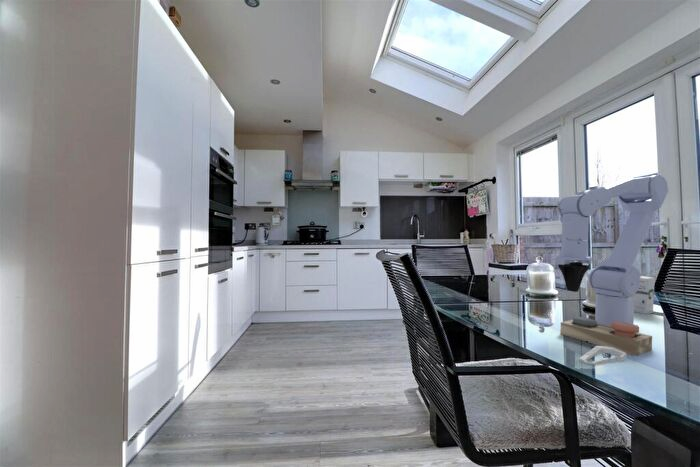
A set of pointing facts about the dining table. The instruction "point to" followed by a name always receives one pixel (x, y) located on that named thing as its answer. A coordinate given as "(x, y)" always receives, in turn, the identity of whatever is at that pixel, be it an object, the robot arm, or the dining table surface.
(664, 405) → the dining table surface
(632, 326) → the brick plug
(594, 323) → the grey plug
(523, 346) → the dining table surface
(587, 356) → the stepped key frame
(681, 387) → the dining table surface
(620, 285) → the robot arm
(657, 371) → the dining table surface
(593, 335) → the socket block
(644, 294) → the ink box
